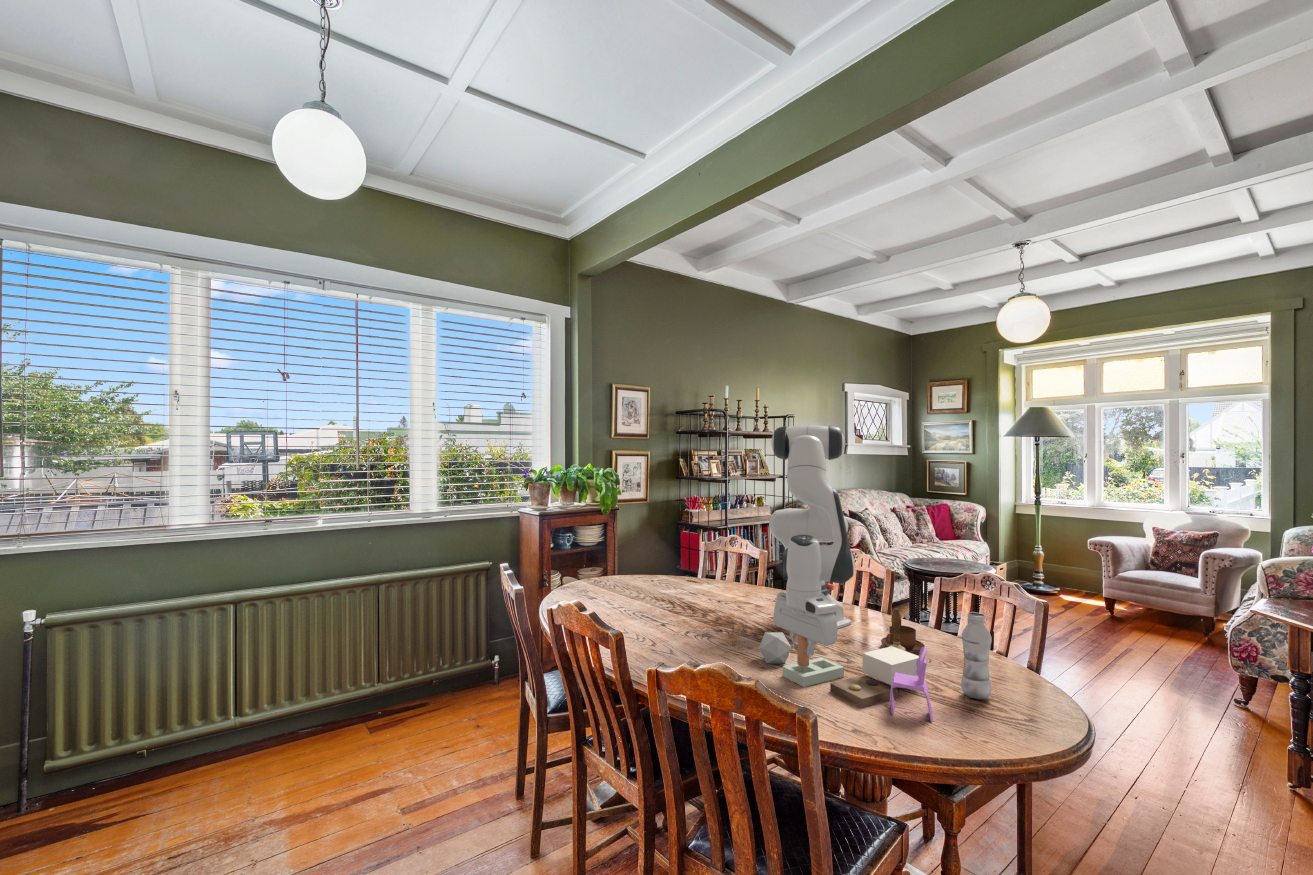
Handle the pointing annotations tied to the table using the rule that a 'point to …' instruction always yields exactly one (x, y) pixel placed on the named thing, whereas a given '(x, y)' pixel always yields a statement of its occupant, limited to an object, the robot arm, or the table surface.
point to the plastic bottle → (976, 658)
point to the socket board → (813, 672)
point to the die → (774, 647)
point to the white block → (889, 663)
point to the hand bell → (896, 629)
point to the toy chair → (913, 682)
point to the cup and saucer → (904, 639)
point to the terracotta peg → (802, 651)
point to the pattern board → (862, 690)
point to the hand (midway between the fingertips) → (803, 652)
